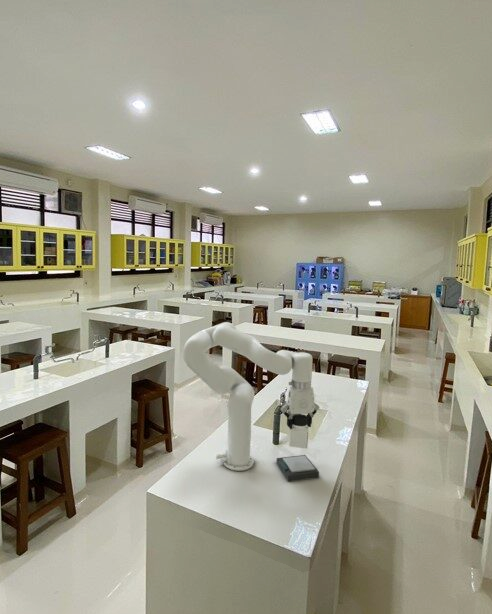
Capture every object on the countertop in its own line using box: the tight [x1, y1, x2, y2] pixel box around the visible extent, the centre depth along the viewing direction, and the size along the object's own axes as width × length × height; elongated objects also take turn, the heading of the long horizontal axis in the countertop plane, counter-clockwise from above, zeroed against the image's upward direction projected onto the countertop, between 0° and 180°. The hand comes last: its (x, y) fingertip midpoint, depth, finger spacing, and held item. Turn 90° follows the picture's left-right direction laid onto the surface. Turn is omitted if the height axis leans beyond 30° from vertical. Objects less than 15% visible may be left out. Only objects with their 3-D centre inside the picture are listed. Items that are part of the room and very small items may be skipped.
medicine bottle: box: [288, 414, 309, 449], centre depth 151 cm, size 7×7×12 cm
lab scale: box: [275, 454, 320, 482], centre depth 153 cm, size 13×13×3 cm
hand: (299, 426), depth 151 cm, fingers closed on medicine bottle, 7 cm apart
